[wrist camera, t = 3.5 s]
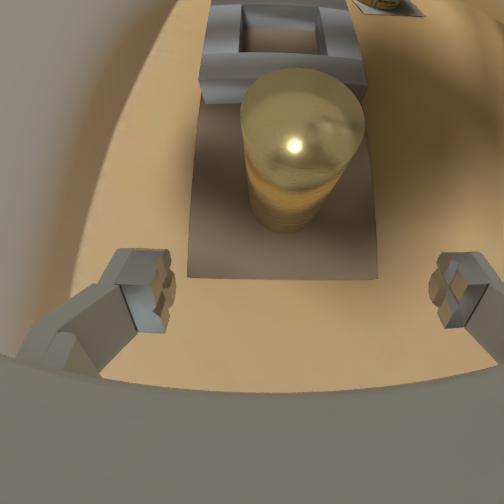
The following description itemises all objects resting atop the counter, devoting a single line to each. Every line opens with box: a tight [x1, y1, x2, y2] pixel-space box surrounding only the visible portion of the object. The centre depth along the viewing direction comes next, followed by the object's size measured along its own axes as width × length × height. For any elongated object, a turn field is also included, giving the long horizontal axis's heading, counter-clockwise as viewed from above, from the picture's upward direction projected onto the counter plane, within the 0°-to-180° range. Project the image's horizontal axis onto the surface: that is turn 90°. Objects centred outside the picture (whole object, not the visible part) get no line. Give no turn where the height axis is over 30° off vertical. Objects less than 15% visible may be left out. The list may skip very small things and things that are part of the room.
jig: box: [187, 0, 378, 280], centre depth 20 cm, size 24×12×4 cm, turn 179°
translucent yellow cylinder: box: [240, 67, 365, 233], centre depth 15 cm, size 4×4×10 cm
